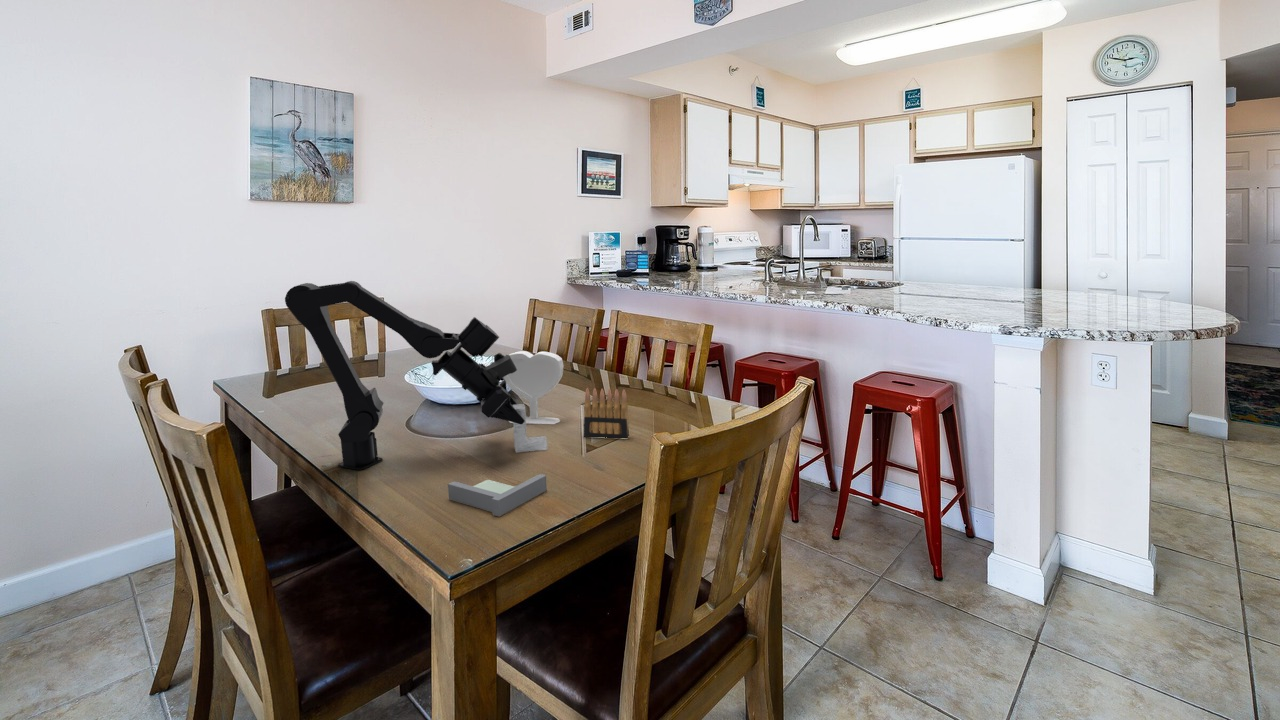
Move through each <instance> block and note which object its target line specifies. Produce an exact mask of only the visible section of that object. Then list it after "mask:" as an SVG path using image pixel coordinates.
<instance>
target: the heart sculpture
mask: <svg viewBox="0 0 1280 720" xmlns="http://www.w3.org/2000/svg"><path fill="white" fill-rule="evenodd" d="M508 355H510V357H511V359H512V361H513V362H514V364H515V366H516V369H517V371H515V372H514V373H512V374H511V373H510V374H508V375H506V376H504V380H505V381H506V386H508V388H509V389H510V390H512V391H513V392H514V393H515V394H516V395H518V396H519V397H521V398H523V399H525V400H526V401H528V402H529V416H526V424H534V425H535V424H537V425H538V424H539V425H542V424H543V425H555V424H557V423H560V422H561V420H560V418H557V417H545V416H539V399H542V397H545V396H546V395H547V394H549V393H550V392H551V391H552V390H554V388H555V387H556V386H557V385H558V384H559V382H560V381H561V379H562V377H563V373H564V367H565V365H564V362H563V358H562V357H561V356H559V354H556V353H553V352H550V351H549V352H548V351H543V350H542V351H539V352H537V353H535V354H533V353H532V352H530V351H527V350H519V351H516V352H512V353H509V354H508ZM504 380H503V381H504ZM508 422H509V423H512V424H513V422H510V421H508Z"/></svg>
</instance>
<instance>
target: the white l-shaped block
mask: <svg viewBox="0 0 1280 720" xmlns="http://www.w3.org/2000/svg"><path fill="white" fill-rule="evenodd" d="M513 407H514V408H515V409H516V410H517V412H518V413H519V414H520V415H521V416H522V418H523V419H524V420H525V422H524V423H523V424H518V423H514V422H513V423H512V424H513V442H514V451H515V453H517V454H518V453H527V452H529V451H530V452H539V451H548V440H547V437H546V436H545V435H541V436H529V437H528V436H527V434H528V433H527V423H526V417H527V414H526V413H527V412H526V411H527V410H526V406H525V404H524V403H519V404H518V403H517V404H516V405H513Z"/></svg>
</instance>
